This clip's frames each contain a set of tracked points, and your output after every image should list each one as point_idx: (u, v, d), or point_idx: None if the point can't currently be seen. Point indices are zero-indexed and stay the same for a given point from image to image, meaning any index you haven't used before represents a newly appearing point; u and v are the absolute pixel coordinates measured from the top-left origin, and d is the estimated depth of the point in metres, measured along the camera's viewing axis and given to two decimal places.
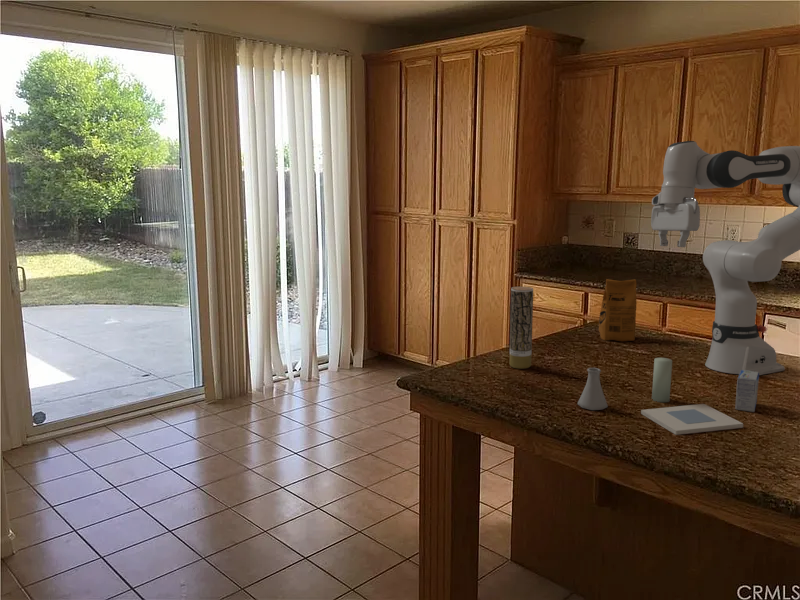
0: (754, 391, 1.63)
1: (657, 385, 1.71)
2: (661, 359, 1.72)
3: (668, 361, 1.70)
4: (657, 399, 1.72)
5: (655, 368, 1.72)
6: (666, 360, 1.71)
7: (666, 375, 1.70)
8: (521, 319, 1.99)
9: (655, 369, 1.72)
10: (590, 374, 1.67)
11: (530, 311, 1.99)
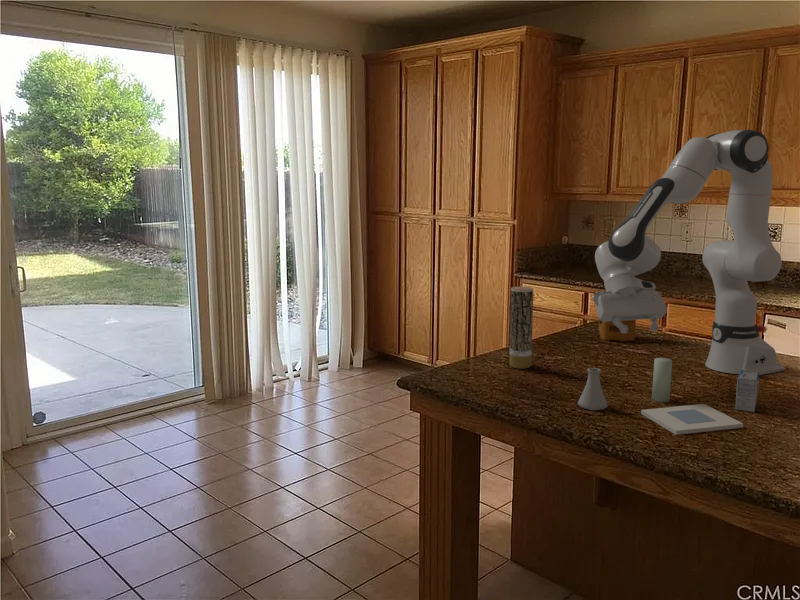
0: (754, 391, 1.63)
1: (657, 385, 1.71)
2: (661, 359, 1.72)
3: (668, 361, 1.70)
4: (657, 399, 1.72)
5: (655, 368, 1.72)
6: (666, 360, 1.71)
7: (666, 375, 1.70)
8: (521, 319, 1.99)
9: (655, 369, 1.72)
10: (590, 374, 1.67)
11: (530, 311, 1.99)
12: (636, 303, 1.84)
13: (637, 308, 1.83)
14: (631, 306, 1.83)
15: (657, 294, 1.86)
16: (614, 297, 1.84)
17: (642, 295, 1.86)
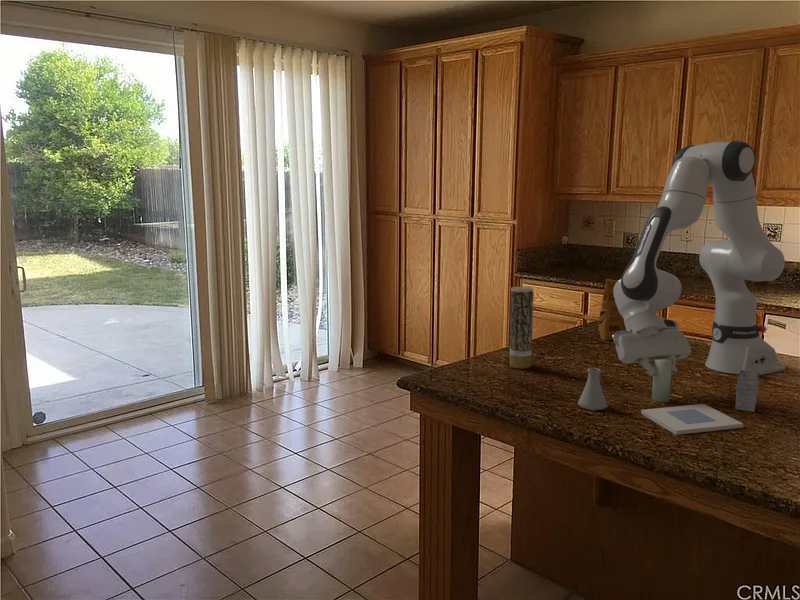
0: (754, 391, 1.63)
1: (657, 385, 1.71)
2: (661, 359, 1.72)
3: (668, 361, 1.70)
4: (657, 399, 1.72)
5: None
6: (666, 360, 1.71)
7: (666, 375, 1.70)
8: (521, 319, 1.99)
9: None
10: (590, 374, 1.67)
11: (530, 311, 1.99)
12: (659, 343, 1.75)
13: (660, 349, 1.74)
14: (654, 347, 1.74)
15: (680, 333, 1.77)
16: (635, 337, 1.75)
17: (665, 334, 1.77)
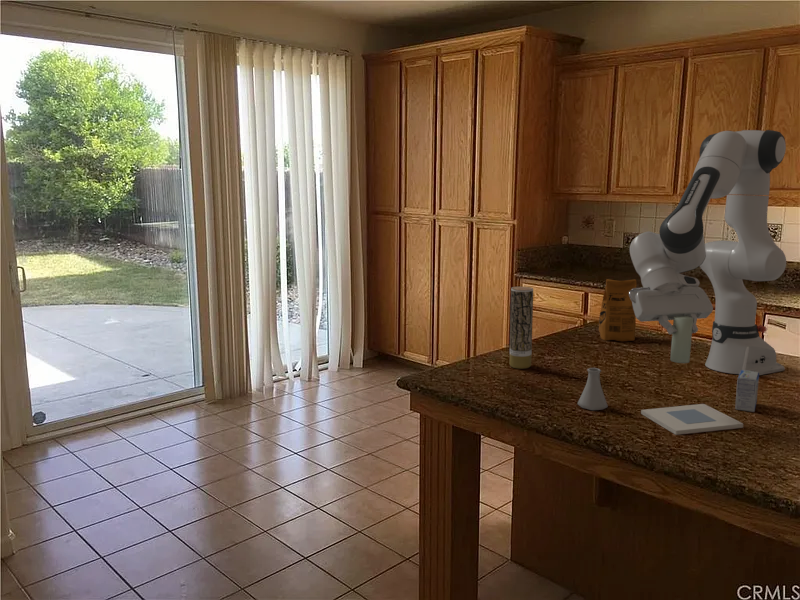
0: (754, 391, 1.63)
1: (677, 344, 1.60)
2: (681, 317, 1.61)
3: (689, 318, 1.59)
4: (676, 360, 1.60)
5: None
6: (686, 318, 1.60)
7: (686, 333, 1.59)
8: (521, 319, 1.99)
9: None
10: (590, 374, 1.67)
11: (530, 311, 1.99)
12: (679, 301, 1.63)
13: (680, 307, 1.62)
14: (673, 304, 1.62)
15: (701, 291, 1.66)
16: (653, 294, 1.63)
17: (685, 292, 1.65)
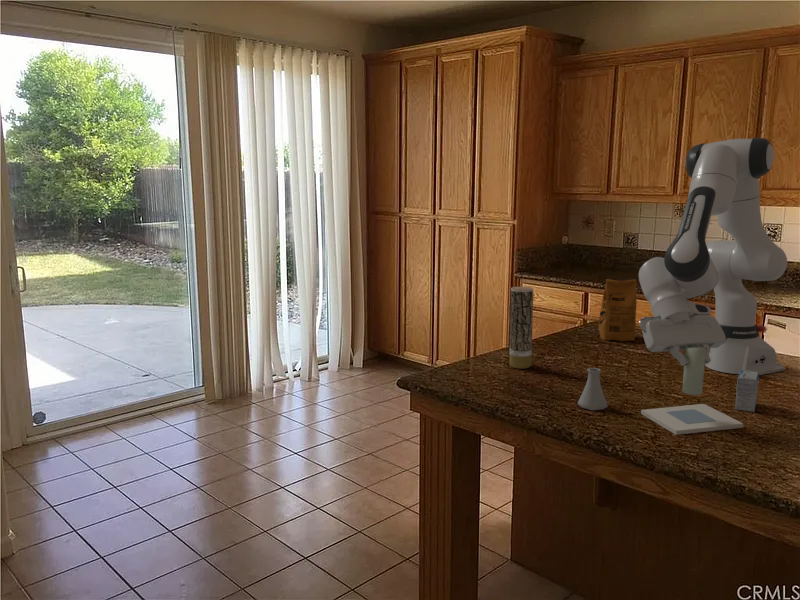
0: (754, 391, 1.63)
1: (689, 375, 1.55)
2: (693, 347, 1.56)
3: (701, 349, 1.54)
4: (689, 391, 1.56)
5: None
6: (699, 348, 1.55)
7: (699, 364, 1.54)
8: (521, 319, 1.99)
9: None
10: (590, 374, 1.67)
11: (530, 311, 1.99)
12: (690, 330, 1.59)
13: (692, 337, 1.58)
14: (685, 334, 1.58)
15: (713, 320, 1.61)
16: (665, 323, 1.59)
17: (696, 320, 1.60)
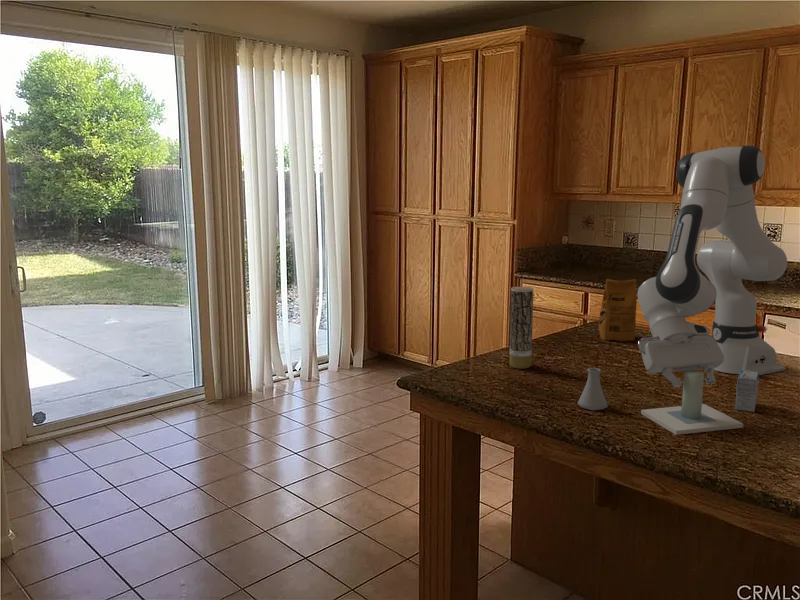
0: (754, 391, 1.63)
1: (688, 400, 1.56)
2: (692, 372, 1.57)
3: (700, 374, 1.55)
4: (687, 416, 1.57)
5: (685, 382, 1.57)
6: (697, 373, 1.56)
7: (697, 389, 1.55)
8: (521, 319, 1.99)
9: (685, 383, 1.57)
10: (590, 374, 1.67)
11: (530, 311, 1.99)
12: (689, 351, 1.60)
13: (691, 358, 1.59)
14: (684, 355, 1.59)
15: (712, 340, 1.62)
16: (663, 344, 1.60)
17: (695, 341, 1.61)
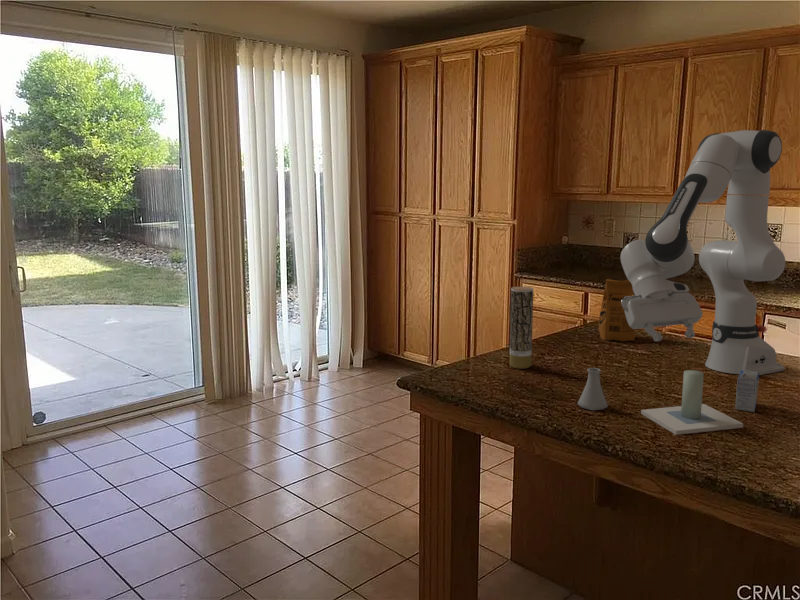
0: (754, 391, 1.63)
1: (688, 400, 1.56)
2: (691, 372, 1.57)
3: (699, 374, 1.56)
4: (687, 416, 1.57)
5: (685, 382, 1.57)
6: (697, 373, 1.56)
7: (697, 389, 1.55)
8: (521, 319, 1.99)
9: (685, 383, 1.57)
10: (590, 374, 1.67)
11: (530, 311, 1.99)
12: (669, 308, 1.69)
13: (671, 314, 1.68)
14: (664, 311, 1.68)
15: (691, 297, 1.71)
16: (645, 302, 1.69)
17: (675, 298, 1.70)
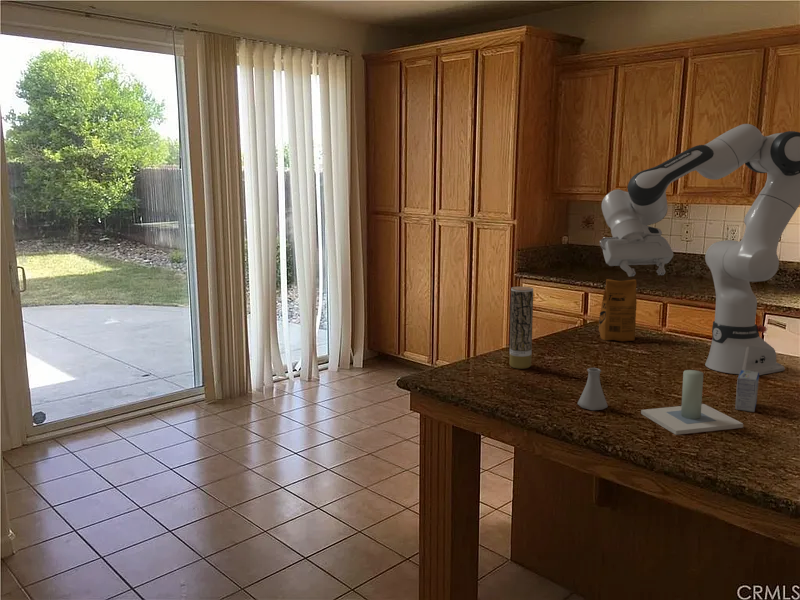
0: (754, 391, 1.63)
1: (687, 400, 1.56)
2: (691, 372, 1.57)
3: (699, 373, 1.56)
4: (687, 415, 1.57)
5: (684, 381, 1.57)
6: (696, 373, 1.56)
7: (697, 389, 1.55)
8: (521, 319, 1.99)
9: (684, 383, 1.57)
10: (590, 374, 1.67)
11: (530, 311, 1.99)
12: (643, 248, 1.86)
13: (644, 253, 1.85)
14: (638, 251, 1.86)
15: (663, 240, 1.89)
16: (621, 242, 1.86)
17: (649, 240, 1.88)
